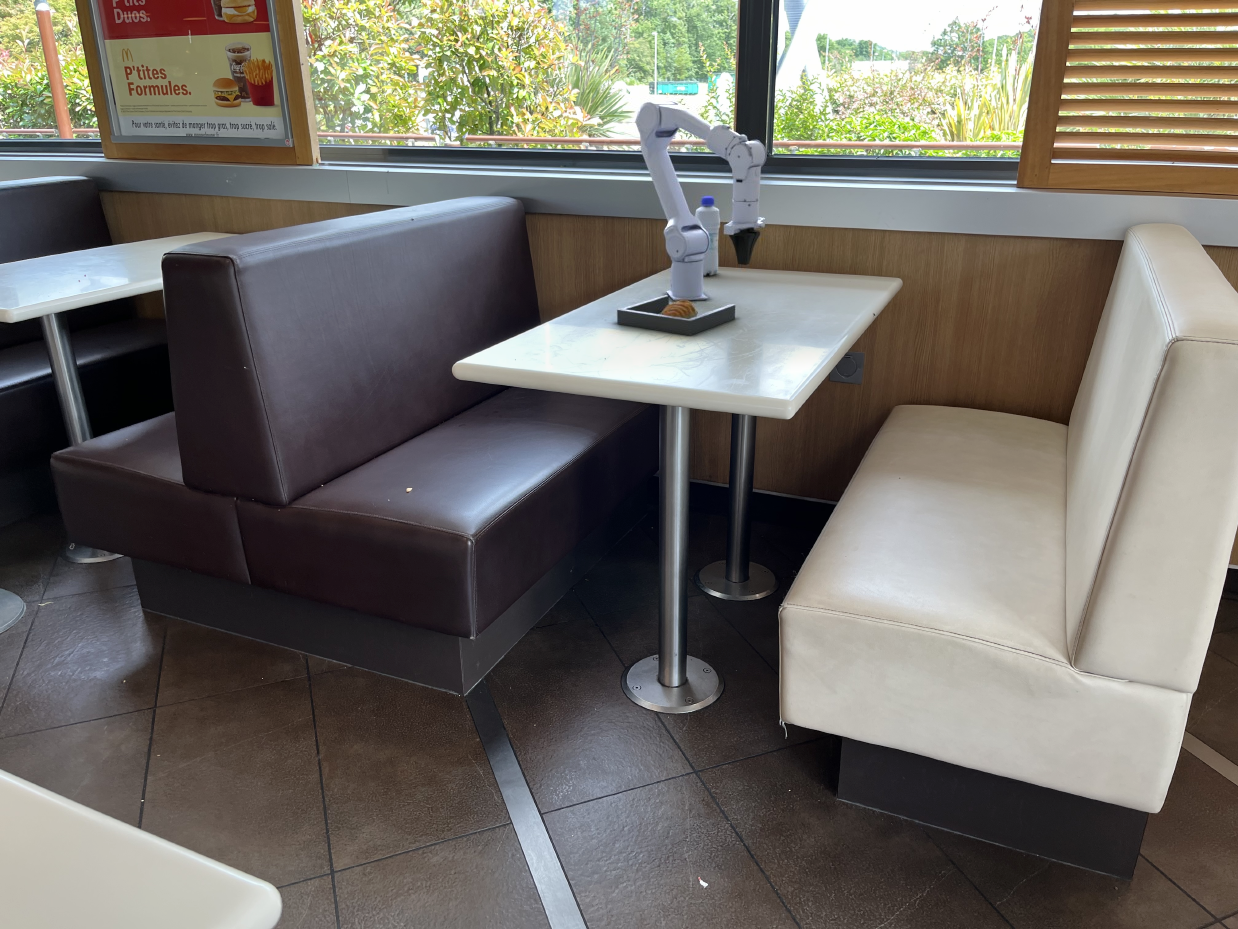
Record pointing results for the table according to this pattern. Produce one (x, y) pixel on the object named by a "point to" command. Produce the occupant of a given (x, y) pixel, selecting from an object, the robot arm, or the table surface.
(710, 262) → the bottle
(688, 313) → the pastry
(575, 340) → the table surface
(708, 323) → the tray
